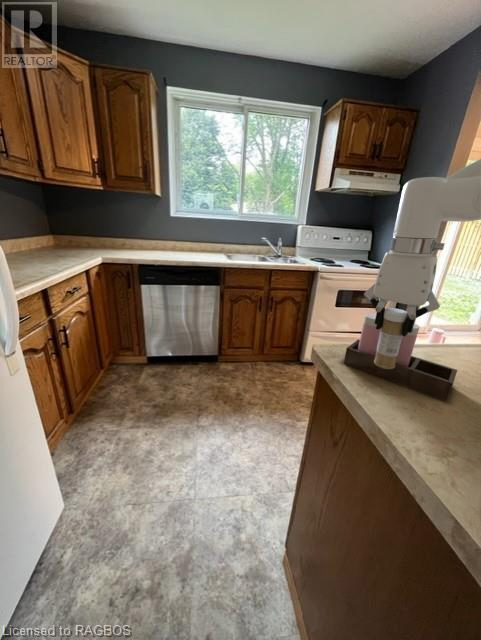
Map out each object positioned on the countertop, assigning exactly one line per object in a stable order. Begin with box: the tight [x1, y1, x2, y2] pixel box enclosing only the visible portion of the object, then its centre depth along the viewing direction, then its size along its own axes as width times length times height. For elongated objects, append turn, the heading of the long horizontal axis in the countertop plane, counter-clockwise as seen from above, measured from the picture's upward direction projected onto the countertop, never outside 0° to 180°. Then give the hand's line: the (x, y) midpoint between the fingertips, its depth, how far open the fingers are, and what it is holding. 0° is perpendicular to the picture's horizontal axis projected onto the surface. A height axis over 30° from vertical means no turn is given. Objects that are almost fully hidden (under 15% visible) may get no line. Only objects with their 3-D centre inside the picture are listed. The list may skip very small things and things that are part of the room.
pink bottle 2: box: [395, 323, 420, 367], centre depth 67 cm, size 5×5×13 cm
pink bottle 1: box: [358, 313, 382, 356], centre depth 71 cm, size 5×5×13 cm
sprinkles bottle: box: [374, 307, 409, 369], centre depth 61 cm, size 5×5×14 cm
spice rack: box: [343, 338, 458, 402], centre depth 68 cm, size 23×8×5 cm, turn 47°
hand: (392, 330), depth 60 cm, fingers closed on sprinkles bottle, 4 cm apart
